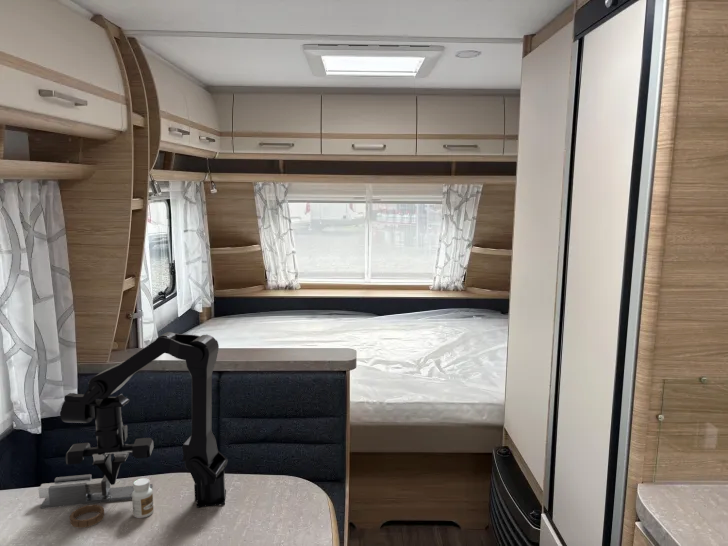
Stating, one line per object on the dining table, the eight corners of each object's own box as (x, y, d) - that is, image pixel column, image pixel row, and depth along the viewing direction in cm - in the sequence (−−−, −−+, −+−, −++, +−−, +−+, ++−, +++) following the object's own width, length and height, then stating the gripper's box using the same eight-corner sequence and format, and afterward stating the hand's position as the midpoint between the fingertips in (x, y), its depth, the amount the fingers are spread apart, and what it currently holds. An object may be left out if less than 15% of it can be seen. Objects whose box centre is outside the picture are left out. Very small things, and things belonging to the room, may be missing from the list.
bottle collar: (107, 509, 134) (106, 503, 134) (99, 525, 127) (99, 519, 127) (75, 512, 133) (75, 506, 132) (66, 529, 126) (66, 522, 126)
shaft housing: (152, 486, 144) (151, 468, 143) (148, 497, 139) (147, 479, 138) (48, 496, 140) (47, 478, 139) (40, 508, 134) (39, 489, 134)
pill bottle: (146, 519, 129) (144, 487, 128) (129, 517, 130) (127, 485, 129) (157, 509, 134) (155, 477, 133) (140, 507, 135) (138, 476, 134)
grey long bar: (110, 488, 141) (109, 474, 141) (106, 495, 138) (105, 481, 137) (44, 494, 138) (42, 480, 138) (38, 502, 135) (37, 487, 134)
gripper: (155, 407, 147) (159, 464, 149) (76, 413, 143) (81, 471, 145) (147, 424, 136) (151, 486, 138) (62, 431, 132) (67, 494, 135)
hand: (113, 483), depth 139 cm, fingers closed
